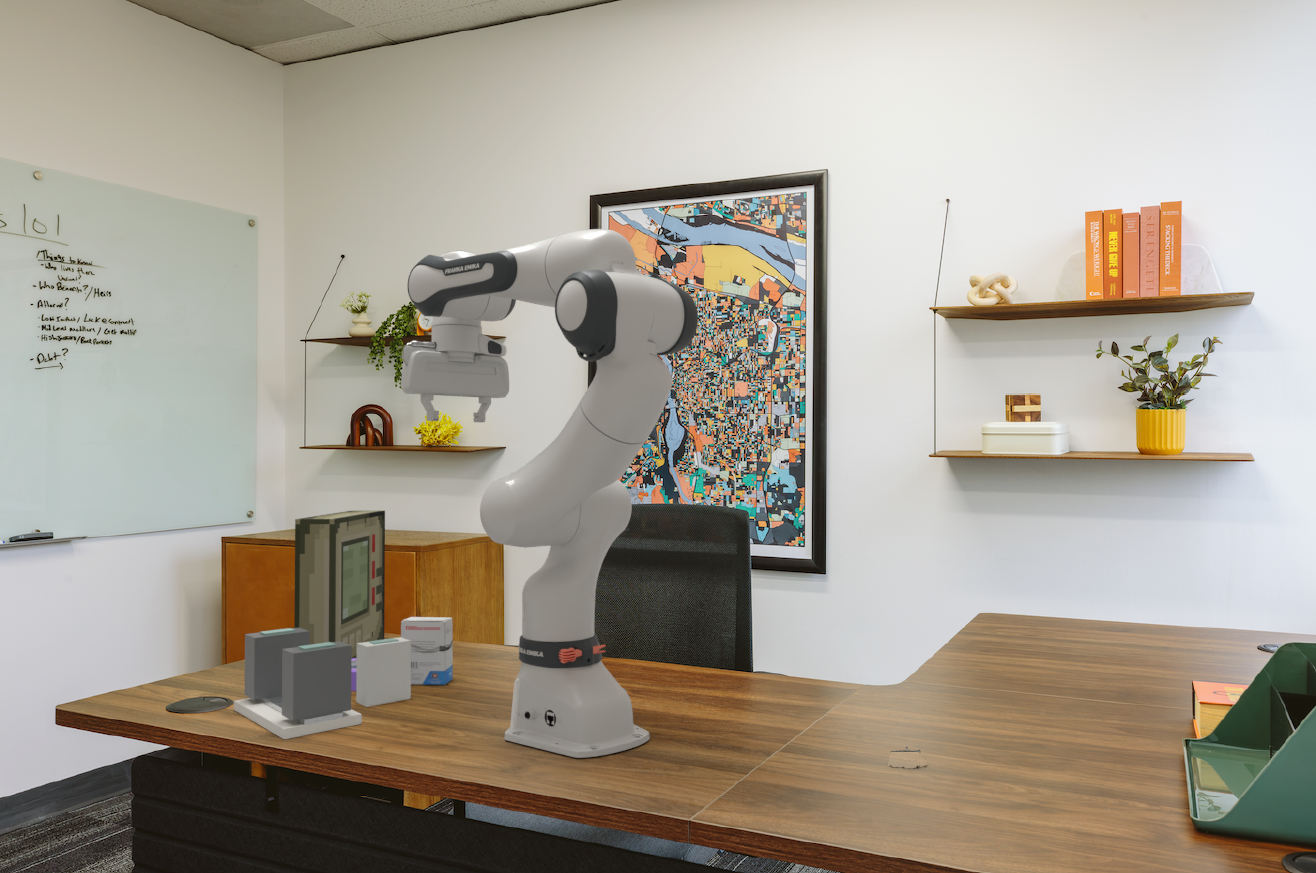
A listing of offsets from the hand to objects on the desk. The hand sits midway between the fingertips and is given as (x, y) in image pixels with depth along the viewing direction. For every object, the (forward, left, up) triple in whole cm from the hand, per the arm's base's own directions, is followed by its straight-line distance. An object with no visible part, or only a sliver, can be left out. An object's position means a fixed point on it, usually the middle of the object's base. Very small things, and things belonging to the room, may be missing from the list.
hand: (456, 421), depth 166 cm
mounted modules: (+3, +27, -46) cm, 53 cm away
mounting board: (+3, +27, -48) cm, 55 cm away
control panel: (+38, +4, -48) cm, 62 cm away
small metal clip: (-77, -24, -49) cm, 94 cm away
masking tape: (+17, +9, -48) cm, 52 cm away
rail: (+3, +27, -46) cm, 54 cm away
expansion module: (+3, +12, -48) cm, 50 cm away
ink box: (+10, 0, -48) cm, 49 cm away
